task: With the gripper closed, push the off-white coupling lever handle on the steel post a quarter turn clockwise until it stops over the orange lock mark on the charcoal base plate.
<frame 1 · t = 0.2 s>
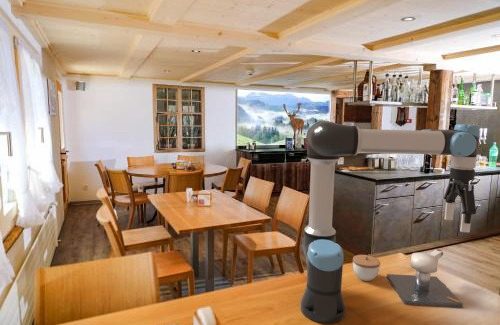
hand: (456, 225, 123), 28 cm above the table, tool pointing down, fingers open, 13 cm apart
coupling lever handle: (430, 258, 132), point 12 cm above the table, hinge at 0.0°
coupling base: (421, 291, 130), on the table
lidded jar: (365, 277, 140), on the table
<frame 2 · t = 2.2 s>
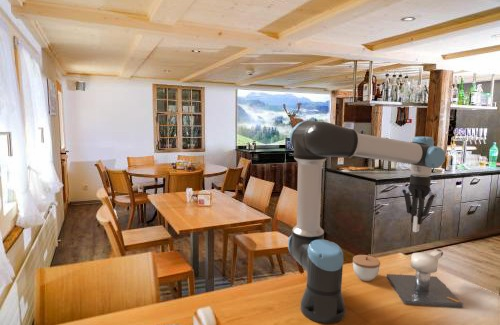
hand: (415, 231, 139), 20 cm above the table, tool pointing down, fingers closed
nothing on the table moved.
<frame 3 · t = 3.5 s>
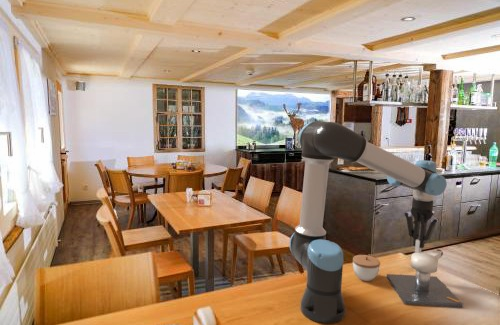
hand: (417, 254, 139), 10 cm above the table, tool pointing down, fingers closed
nothing on the table moved.
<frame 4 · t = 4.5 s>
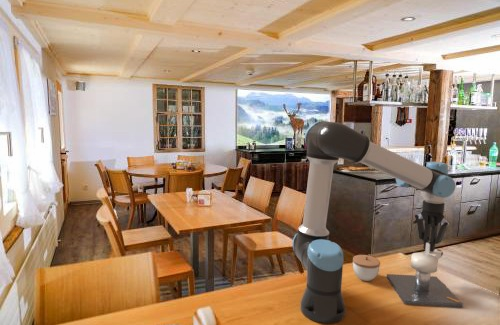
hand: (428, 257, 136), 10 cm above the table, tool pointing down, fingers closed
coupling lever handle: (430, 258, 132), point 12 cm above the table, hinge at 0.0°, touching gripper
everything else where it was.
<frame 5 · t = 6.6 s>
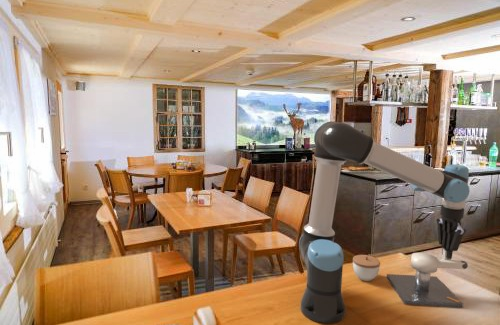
hand: (445, 265, 130), 10 cm above the table, tool pointing down, fingers closed
coupling lever handle: (439, 263, 128), point 12 cm above the table, hinge at -47.0°, touching gripper
everything else where it was.
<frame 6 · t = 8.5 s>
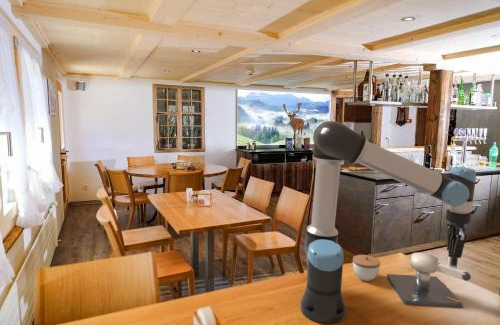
hand: (451, 272, 124), 10 cm above the table, tool pointing down, fingers closed
coupling lever handle: (439, 267, 124), point 12 cm above the table, hinge at -89.6°, touching gripper
everything else where it was.
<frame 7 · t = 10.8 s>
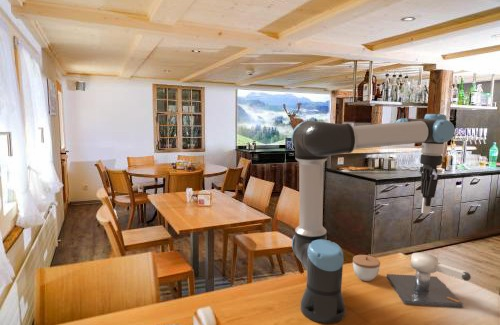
hand: (425, 213, 133), 29 cm above the table, tool pointing down, fingers closed
coupling lever handle: (439, 267, 124), point 12 cm above the table, hinge at -89.7°
everything else where it was.
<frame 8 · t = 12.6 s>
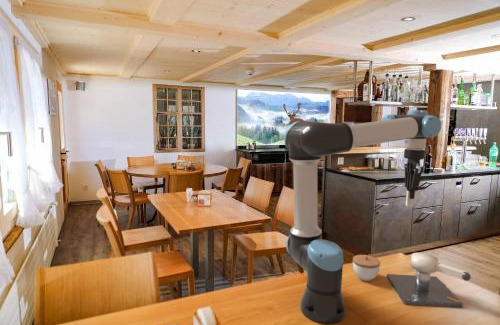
hand: (409, 205, 139), 30 cm above the table, tool pointing down, fingers closed
nothing on the table moved.
at the end: coupling lever handle at -90° (first picture: +0°); lidded jar moved 0.2 cm from its start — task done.
